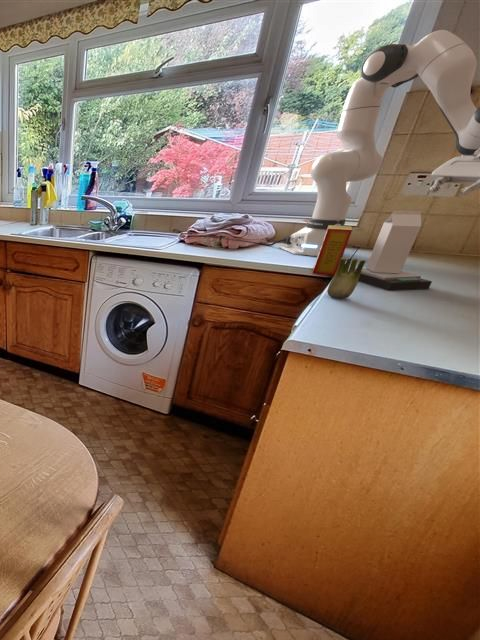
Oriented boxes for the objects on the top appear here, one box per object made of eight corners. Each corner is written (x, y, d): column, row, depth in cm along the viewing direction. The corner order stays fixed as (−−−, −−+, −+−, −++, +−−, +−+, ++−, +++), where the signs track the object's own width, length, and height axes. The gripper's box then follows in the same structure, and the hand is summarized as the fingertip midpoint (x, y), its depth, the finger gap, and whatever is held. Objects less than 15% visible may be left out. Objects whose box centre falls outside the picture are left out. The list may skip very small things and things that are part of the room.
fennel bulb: (352, 298, 131) (368, 258, 125) (345, 301, 129) (361, 261, 123) (330, 294, 135) (344, 255, 130) (322, 297, 133) (337, 257, 127)
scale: (347, 277, 151) (351, 268, 150) (383, 276, 151) (387, 267, 150) (388, 290, 137) (393, 280, 135) (428, 289, 137) (433, 278, 136)
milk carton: (399, 274, 141) (427, 212, 132) (372, 272, 144) (398, 211, 135) (391, 269, 147) (417, 209, 138) (365, 267, 150) (389, 209, 141)
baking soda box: (335, 275, 154) (352, 228, 146) (312, 273, 157) (328, 227, 150) (334, 270, 161) (351, 225, 153) (313, 268, 164) (328, 224, 156)
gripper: (455, 147, 136) (411, 182, 141) (532, 146, 118) (479, 186, 123) (462, 162, 138) (418, 196, 143) (538, 164, 120) (485, 203, 125)
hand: (446, 192), depth 133 cm, fingers open, 8 cm apart
